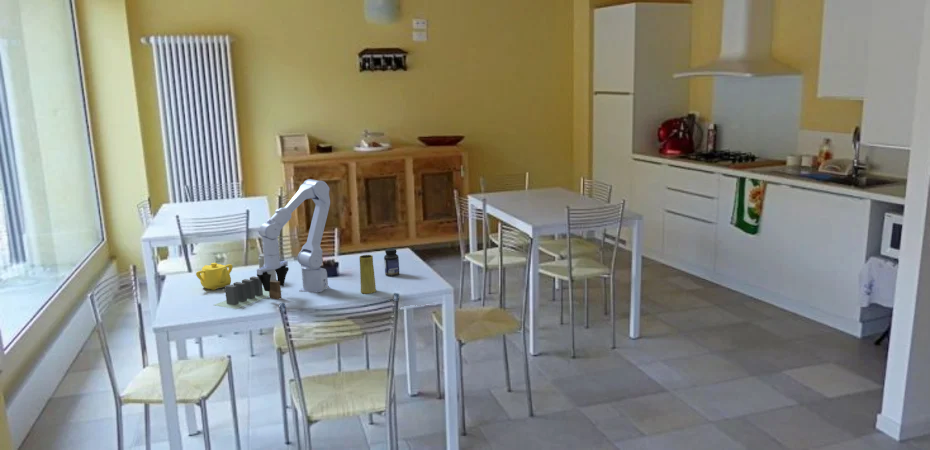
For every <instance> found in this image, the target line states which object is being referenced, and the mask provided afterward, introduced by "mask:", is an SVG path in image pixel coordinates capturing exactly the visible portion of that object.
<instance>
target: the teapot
mask: <svg viewBox="0 0 930 450" xmlns="http://www.w3.org/2000/svg"><path fill="white" fill-rule="evenodd" d="M232 270H233V264H231V263H230V264H225V265H224V264H220V263H217V262H211V263H210V264H205V265H204V266H202V268H201V270H197V271H196V272H195V275H196V277H197V279H198V280H199V281H200V285H201V286H202V287H203V288H205V289H207V290H211V291H216V290H217V289H221V288H225V286H226V285H231V283H232V278H231V272H232Z"/></svg>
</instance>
